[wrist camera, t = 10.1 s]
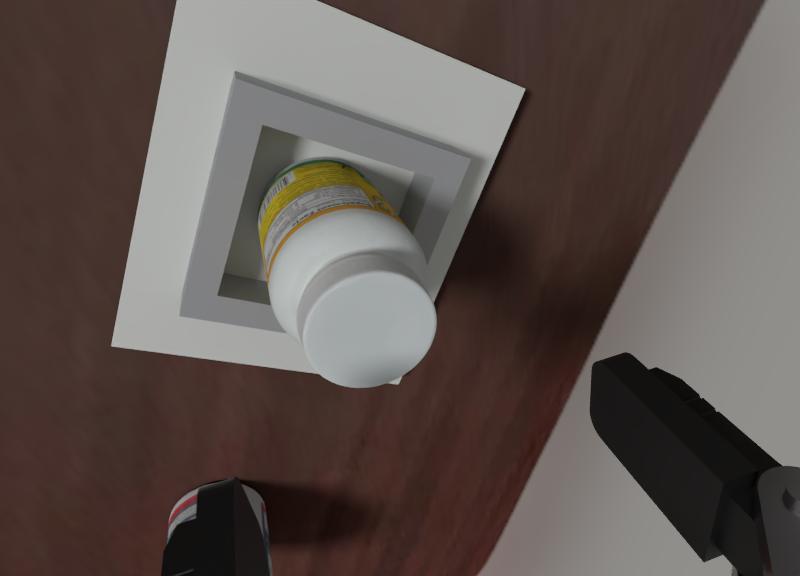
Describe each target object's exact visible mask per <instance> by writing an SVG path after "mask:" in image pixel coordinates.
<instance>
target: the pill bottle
mask: <svg viewBox="0 0 800 576" xmlns="http://www.w3.org/2000/svg"><path fill="white" fill-rule="evenodd" d="M211 484H214V483H211ZM211 484H207V485H204V486H201V487H199V488H202V487H205V486H208V485H211ZM242 487H243V489H244V491H245V493H246V495H247V497H248V500H249V502H250V504H251V506H252V508H253V511H254V513H255V515H256V517H257V519H258V522H259V524H260V528H261V531H262V535H263V539H264V545H265V552H266V564H267V576H273V573H272V562H271V553H270V543H269V533H268V524H267V514H266V508H265V504H264V501H263V499H262V498H261V496H260V495H259V494H258V493H257V492H256V491H255V490H253V489H252V488H250V487H248V486H246V485H243V484H242ZM199 488H196V489H194V490H193V491H191V492H189V493H188V494H186V495H185V496H184V497H182V498H181V499H180V500H179V501H178V502H177V504H176V505H175V506H174V508H173V510H172V512H171V515H170V518H169V526H168V537H167V544H168V542H169V540H170V538H171V536H172V534H173V532H174V529H175V527H176V525H177V524H180V523H183V522H186V521H189V520H192V519H195V518H196V507H197V493H198V490H199Z"/></svg>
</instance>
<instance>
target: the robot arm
mask: <svg viewBox="0 0 800 576" xmlns="http://www.w3.org/2000/svg"><path fill="white" fill-rule="evenodd" d="M590 416H591V420H592V423H593V426H594V428H595V430H596V432H597V433H598V435H599V436H600V438H601V439H602V440H603V441H604V443H605V444H606V445H607V446H608V448H609V449H610V450H611V451H612V452H613V453H614V455H615V456H616V457H617V458H618V460H619V461H620V462H621V463H622V464H623V466H624V467H625V468H626V469H627V470H628V472H629V473H630V474H631V475H632V476H633V478H634V479H635V480H636V481H637V482H638V484H639V485H640V486H641V487H642V488H643V490H644V491H645V492H646V493H647V494H648V495H649V497H650V498H651V499H652V500H653V502H654V503H655V504H656V505H657V506H658V508H659V509H660V510H661V511H662V512H663V514H664V515H665V516H666V517H667V518H668V520H669V521H670V522H671V523H672V524H673V526H674V527H675V528H676V529H677V531H678V532H679V533H680V534H681V535H682V537H684V539H685V540H686V541H687V543H688V544H689V545H690V546H691V547H692V549H693V550H694V551H695V552H696V553H697V555H698V556H699V557H700V558H701V559H702V561H703V562H706V561H708V560H711V559H713V558H716V557H718V556H721V555H724V556H725V557H726V558H727V559H728V560H729V562H730V563H731V564H732V565H733V567H732V576H800V468H799V467H792V466H782V465H781V464H779V463H778V462H777V461H775V460H774V459H773V458H772V457H771V456H770V455H768V454H767V453H766V452H765V451H764V450H763V449H761V448H760V447H759V446H758V445H757V444H756V443H755V442H753V441H752V440H751V439H750V438H749V437H748V436H747V435H745V434H744V433H743V432H742V431H741V430H740V429H738V428H737V427H736V426H735V425H734V424H732V423H731V422H730V421H729V420H728V419H727V418H726V417H725V416H723V415H722V414H721V413H720V412H716V411H715V408H714V407H713V406H712V405H711V404H709V403H708V402H707V401H706V400H705V399H704V398H702V399H701V398H700V396H699V394H698V393H697V392H696V391H694V390H693V389H692V388H691V387H690V386H688V385H687V384H686V383H685V382H684V381H683V380H682V379H680V378H678V377H676V376H674V375H671V374H670V373H668V372H665V371H663V370H661V369H659V368H653V369H650V370H648V369H647V368H646V367H645V366H644V365H643V364H642V363H641V362H640V361H639V360H637V359H636V358H635V357H634V356H633V355H631V354H630V353H622V354H619V355H616V356H612V357H609V358H606V359H604V360H600V361H597V362H595V363H594V364H593V366H592V375H591V396H590ZM161 576H267V564H266V552H265V545H264V539H263V535H262V531H261V528H260V524H259V522H258V519H257V517H256V515H255V513H254V511H253V508H252V506H251V504H250V502H249V500H248V497H247V495H246V493H245V491H244V489H243V487H242V484H241V482H240V480H239V479H238V477H233V478H230V479H227V480H224V481H221V482H217V483H214V484H211V485H208V486H205V487H202V488H199V490H198V493H197V507H196V518H195V519H192V520H189V521H186V522H183V523H180V524H177V525H176V527H175V529H174V532H173V534H172V536H171V538H170V540H169V542H168V544H167V546H166V548H165V550H164V553H163V563H162V573H161Z"/></svg>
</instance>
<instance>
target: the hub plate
mask: <svg viewBox="0 0 800 576" xmlns="http://www.w3.org/2000/svg"><path fill="white" fill-rule="evenodd" d="M524 92H525V88H522V87H520V86H517V85H515V84H513V83H510V82H508V81H506V80H503V79H501V78H499V77H496V76H494V75H492V74H489V73H487V72H484V71H482V70H480V69H477V68H475V67H473V66H470V65H468V64H466V63H463V62H461V61H459V60H456V59H454V58H451V57H449V56H447V55H444V54H442V53H440V52H437V51H435V50H433V49H430V48H428V47H425V46H423V45H421V44H418V43H416V42H414V41H411V40H409V39H407V38H404V37H402V36H400V35H397V34H395V33H392V32H390V31H388V30H385V29H383V28H381V27H378V26H376V25H374V24H371V23H369V22H366V21H364V20H362V19H359V18H357V17H355V16H352V15H350V14H348V13H345V12H343V11H341V10H338V9H336V8H333V7H331V6H329V5H326V4H324V3H322V2H319V1H317V0H177V3H176V8H175V13H174V19H173V24H172V29H171V34H170V40H169V45H168V50H167V55H166V61H165V66H164V71H163V76H162V82H161V87H160V92H159V97H158V103H157V108H156V113H155V118H154V124H153V129H152V134H151V139H150V145H149V150H148V155H147V160H146V166H145V171H144V176H143V181H142V187H141V192H140V197H139V202H138V208H137V213H136V218H135V223H134V229H133V234H132V239H131V244H130V250H129V255H128V260H127V265H126V271H125V276H124V281H123V286H122V292H121V297H120V302H119V307H118V313H117V318H116V323H115V329H114V334H113V339H112V344H111V346H114V347H121V348H129V349H136V350H144V351H151V352H159V353H166V354H174V355H181V356H189V357H196V358H204V359H211V360H219V361H226V362H234V363H241V364H249V365H256V366H264V367H271V368H278V369H286V370H293V371H301V372H308V373H316V374H319V373H318V372H317V371H316V370H315V369H314V368H313V367H312V365H311V364H310V363H309V361H308V359H307V357H306V355H305V352H304V349H303V346H302V345H300V344H299V343H297V342H296V341H295V340H293V339H292V338H291V337H290V336H289V335H288V334H287V333H286V332H285V330H284V329H283V328H282V326H281V325H280V323H279V322H278V320H277V318H276V316H275V314H274V312H273V309H272V305H271V301H270V297H269V290H268V284H267V277H266V271H265V265H264V260H263V255H262V249H261V243H260V236H259V231H258V225H257V212H258V206H259V202H260V199H261V196H262V194H263V192H264V190H265V188H266V187H267V185H268V184H269V182H270V181H271V180H272V179H273V178H274V177H275V176H276V175H277V174H278V173H279V172H280V171H281V170H283V169H284V168H286V167H287V166H289V165H291V164H293V163H295V162H297V161H300V160H303V159H308V158H314V157H329V158H335V159H339V160H342V161H345V162H347V163H349V164H351V165H352V166H354V167H355V168H356V169H358V170H359V171H360V172H361V173H362V174H363V175H364V176H365V177H366V178H368V179H369V180H370V181H371V183H372V184H373V185H374V186H375V187H376V188H377V190H378V191H379V192H380V194H381V195H382V196H383V197H384V199H385V200H386V202H387V203H388V204H389V205H390V206H391V208H392V209H393V210H394V211H395V212H396V214H397V215H398V216H399V217H400V219H401V220H402V221H403V223H404V224H405V225H406V227H407V228H408V229H409V230H410V232H411V233H412V234H413V236H414V237H415V238H416V240H417V242H418V243H419V245H420V247H421V249H422V251H423V253H424V256H425V259H426V263H427V268H428V289H427V292H428V293H429V295H430V297H431V299H432V301H433V303H434V301H435V299H436V296H437V294H438V292H439V289H440V287H441V285H442V282H443V280H444V278H445V275H446V273H447V271H448V268H449V266H450V264H451V261H452V259H453V257H454V254H455V252H456V250H457V247H458V245H459V243H460V240H461V238H462V236H463V233H464V231H465V229H466V226H467V224H468V222H469V219H470V217H471V215H472V212H473V210H474V208H475V206H476V203H477V201H478V199H479V196H480V194H481V192H482V189H483V187H484V185H485V182H486V180H487V178H488V175H489V173H490V171H491V168H492V166H493V164H494V161H495V159H496V157H497V154H498V152H499V150H500V147H501V145H502V143H503V140H504V138H505V136H506V133H507V131H508V129H509V126H510V124H511V122H512V119H513V117H514V115H515V112H516V110H517V108H518V105H519V103H520V101H521V98H522V96H523V94H524ZM401 378H402V376H401V377H399V378H397V379H396V380H393V381H391V382H389V383H391V384H398V385H399V382H400V380H401Z"/></svg>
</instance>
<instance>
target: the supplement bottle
mask: <svg viewBox="0 0 800 576" xmlns="http://www.w3.org/2000/svg"><path fill="white" fill-rule="evenodd" d="M257 225H258V231H259V236H260V243H261V249H262V255H263V260H264V265H265V271H266V277H267V284H268V290H269V297H270V301H271V305H272V309H273V312H274V314H275V316H276V318H277V320H278V322H279V323H280V325H281V326H282V328H283V329H284V330H285V332H286V333H287V334H288V335H289V336H290V337H291V338H292V339H293V340H295V341H296V342H297V343H299V344H300V345H302V346H303V349H304V352H305V355H306V357H307V359H308V361H309V363H310V364H311V365H312V367H313V368H314V369H315V370H316V371H317V372H318V373H319V374H320V375H321V376H322V377H324V378H325V379H327V380H329V381H331V382H333V383H335V384H338V385H341V386H346V387H352V388H368V387H374V386H379V385H382V384H386V383H389V382H391V381H393V380H396V379H397V378H399V377H401V376H403V375H404V374H406V373H407V372H409V371H410V370H411V369H413V368H414V367H415V366H416V365H417V364H418V363H419V362H420V361H421V359H422V358H423V357H424V356H425V354H426V353H427V351H428V350H429V348H430V346H431V344H432V342H433V339H434V336H435V332H436V323H437V317H436V311H435V306H434V303H433V301H432V299H431V297H430V295H429V293H428V292H427V289H428V268H427V263H426V259H425V256H424V253H423V251H422V249H421V247H420V245H419V243H418V242H417V240H416V238H415V237H414V236H413V234H412V233H411V232H410V230H409V229H408V228H407V227H406V225H405V224H404V223H403V221H402V220H401V219H400V217H399V216H398V215H397V214H396V212H395V211H394V210H393V209H392V208H391V206H390V205H389V204H388V203H387V202H386V200H385V199H384V197H383V196H382V195H381V194H380V192H379V191H378V190H377V188H376V187H375V186H374V185H373V184H372V183H371V181H370V180H369V179H368V178H366V177H365V176H364V175H363V174H362V173H361V172H360V171H359V170H358V169H356V168H355V167H354V166H352V165H351V164H349V163H347V162H345V161H342V160H339V159H335V158H329V157H314V158H308V159H303V160H300V161H297V162H295V163H293V164H291V165H289V166H287V167H286V168H284V169H283V170H281V171H280V172H279V173H278V174H277V175H276V176H275V177H274V178H273V179H272V180H271V181H270V182H269V184H268V185H267V187H266V188H265V190H264V192H263V194H262V196H261V199H260V202H259V206H258V212H257Z"/></svg>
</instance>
